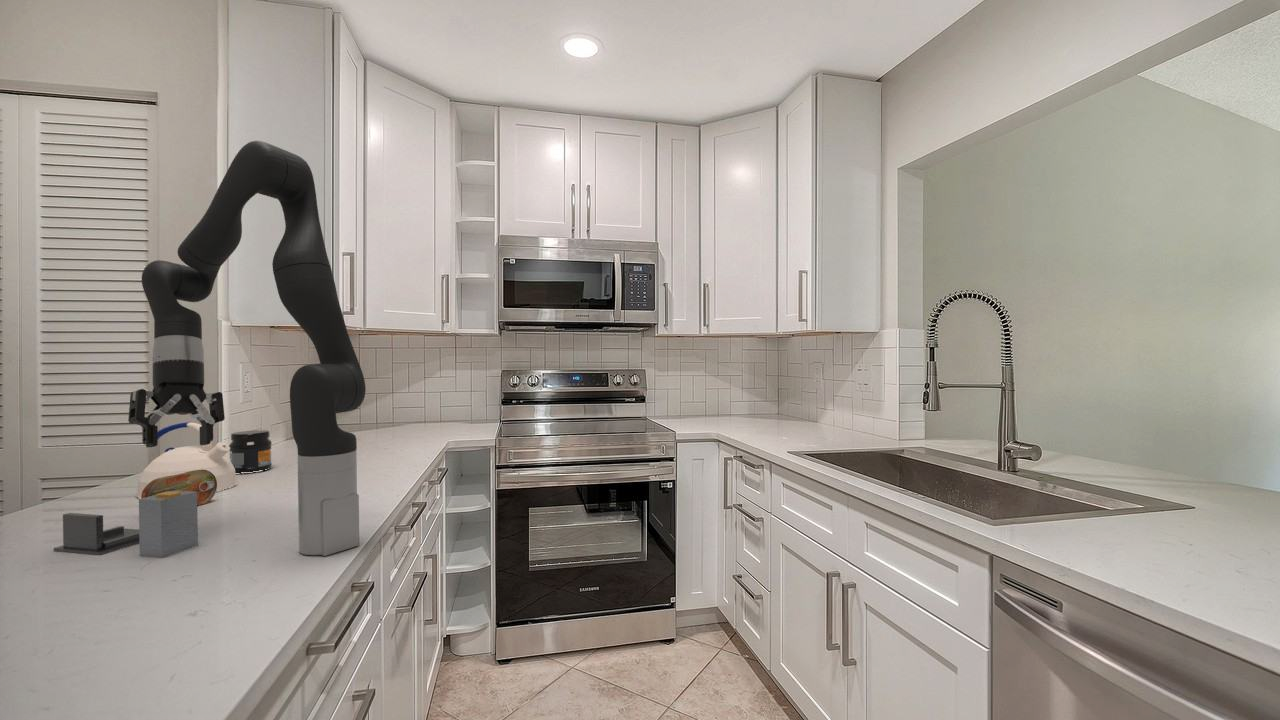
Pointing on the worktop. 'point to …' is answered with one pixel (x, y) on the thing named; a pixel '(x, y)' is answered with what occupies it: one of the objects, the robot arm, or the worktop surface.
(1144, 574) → the worktop surface
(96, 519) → the bracket
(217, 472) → the kettle
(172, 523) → the metal block with pad
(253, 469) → the supplement container
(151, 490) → the tin
